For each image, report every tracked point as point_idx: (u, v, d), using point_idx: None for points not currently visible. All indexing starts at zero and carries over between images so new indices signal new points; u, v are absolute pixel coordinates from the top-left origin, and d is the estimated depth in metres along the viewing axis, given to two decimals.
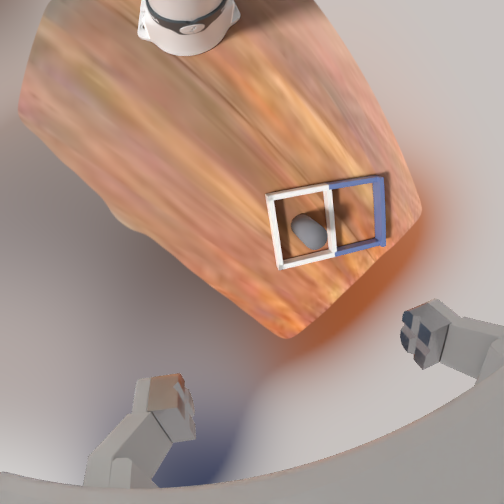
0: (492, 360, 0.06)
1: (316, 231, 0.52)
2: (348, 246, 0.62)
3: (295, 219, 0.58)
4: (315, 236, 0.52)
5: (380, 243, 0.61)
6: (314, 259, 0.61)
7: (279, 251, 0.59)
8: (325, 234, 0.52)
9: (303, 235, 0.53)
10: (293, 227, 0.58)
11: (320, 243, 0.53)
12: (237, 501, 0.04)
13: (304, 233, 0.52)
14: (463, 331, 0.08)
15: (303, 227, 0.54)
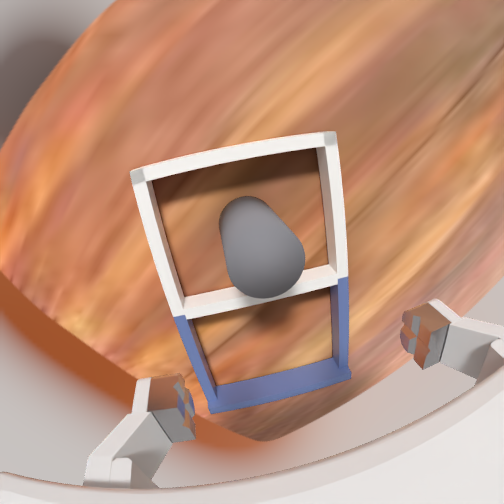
0: (492, 360, 0.06)
1: (287, 262, 0.17)
2: (196, 340, 0.26)
3: None
4: (271, 261, 0.17)
5: (214, 403, 0.28)
6: (162, 266, 0.22)
7: (184, 166, 0.20)
8: (275, 290, 0.18)
9: (271, 221, 0.17)
10: (248, 200, 0.22)
11: (247, 280, 0.17)
12: (237, 501, 0.04)
13: (281, 225, 0.17)
14: (463, 331, 0.08)
15: (281, 221, 0.18)
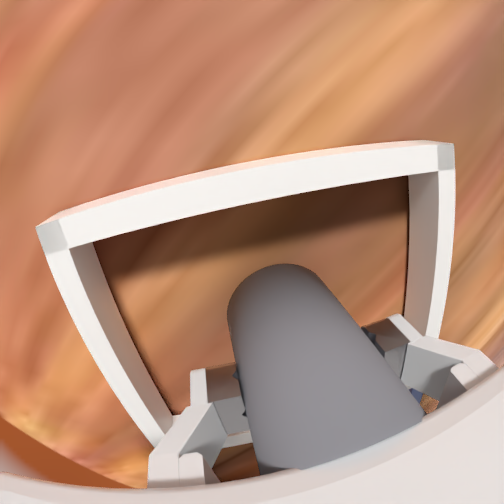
0: (452, 386, 0.06)
1: None
2: None
3: (322, 283, 0.11)
4: None
5: None
6: (127, 395, 0.11)
7: (147, 213, 0.08)
8: None
9: (383, 401, 0.05)
10: (291, 282, 0.10)
11: None
12: (236, 501, 0.04)
13: (408, 412, 0.05)
14: (422, 352, 0.08)
15: (385, 364, 0.07)
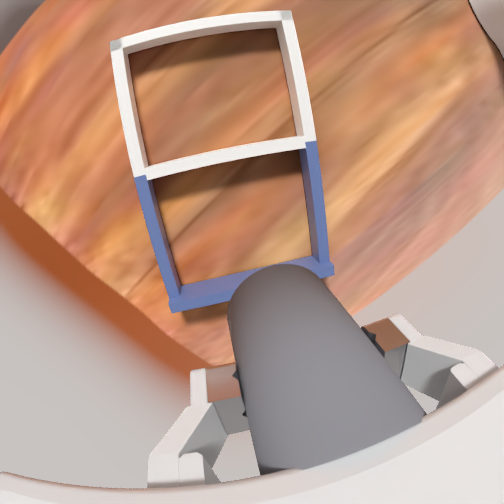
0: (452, 386, 0.06)
1: None
2: (158, 214, 0.25)
3: (323, 283, 0.11)
4: None
5: (176, 298, 0.26)
6: (128, 121, 0.21)
7: (156, 34, 0.18)
8: None
9: (383, 401, 0.05)
10: (291, 282, 0.10)
11: None
12: (237, 501, 0.04)
13: (408, 412, 0.05)
14: (423, 352, 0.08)
15: (386, 365, 0.07)
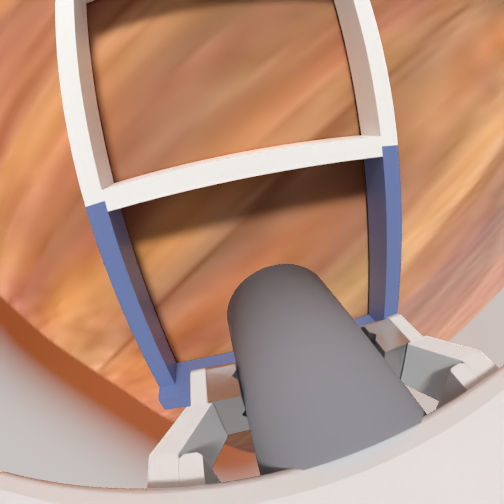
0: (452, 386, 0.06)
1: None
2: (132, 265, 0.14)
3: (323, 283, 0.11)
4: None
5: (170, 390, 0.16)
6: (73, 107, 0.10)
7: None
8: None
9: (383, 402, 0.05)
10: (291, 282, 0.10)
11: None
12: (236, 501, 0.04)
13: (409, 412, 0.05)
14: (423, 352, 0.08)
15: (386, 365, 0.07)
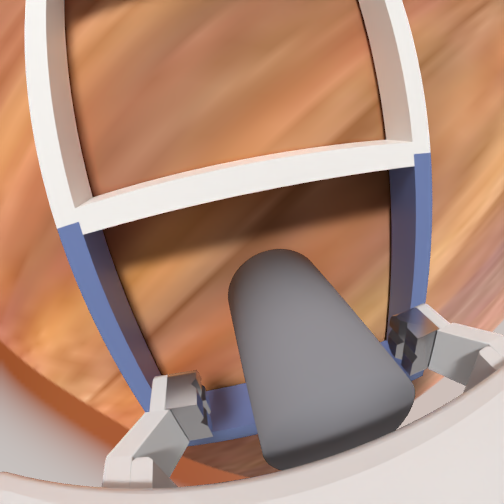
0: (480, 368, 0.06)
1: (380, 421, 0.07)
2: (116, 295, 0.12)
3: (314, 266, 0.13)
4: (353, 427, 0.07)
5: None
6: (40, 107, 0.08)
7: None
8: None
9: (360, 354, 0.07)
10: (285, 263, 0.12)
11: (300, 458, 0.07)
12: (237, 501, 0.04)
13: (384, 364, 0.06)
14: (451, 337, 0.08)
15: (366, 329, 0.08)
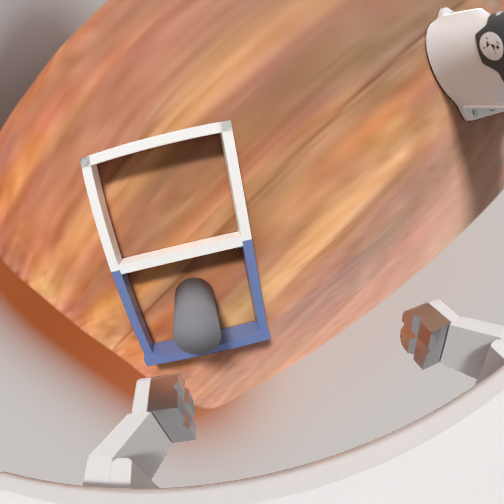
0: (492, 360, 0.06)
1: (209, 334, 0.27)
2: (132, 295, 0.31)
3: (206, 285, 0.33)
4: (199, 334, 0.27)
5: (149, 355, 0.33)
6: (102, 229, 0.27)
7: (117, 153, 0.25)
8: (204, 350, 0.27)
9: (198, 311, 0.27)
10: (192, 284, 0.32)
11: (186, 344, 0.27)
12: (237, 501, 0.04)
13: (204, 314, 0.26)
14: (463, 331, 0.08)
15: (208, 306, 0.28)
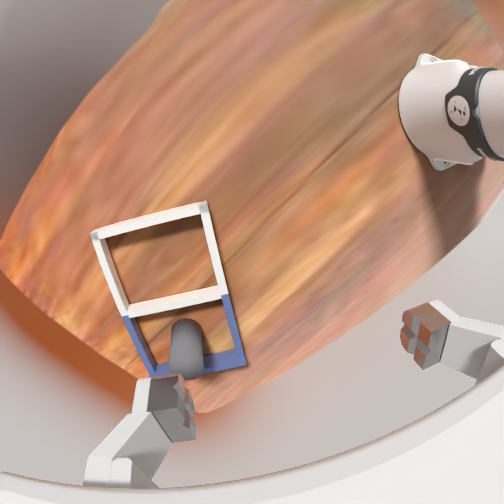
0: (492, 360, 0.06)
1: (195, 367, 0.35)
2: (138, 331, 0.40)
3: (195, 324, 0.41)
4: (187, 366, 0.35)
5: (153, 375, 0.42)
6: (112, 286, 0.36)
7: (119, 230, 0.34)
8: (192, 377, 0.36)
9: (186, 350, 0.35)
10: (184, 325, 0.40)
11: None
12: (236, 501, 0.04)
13: (190, 353, 0.35)
14: (463, 331, 0.08)
15: (194, 345, 0.37)
